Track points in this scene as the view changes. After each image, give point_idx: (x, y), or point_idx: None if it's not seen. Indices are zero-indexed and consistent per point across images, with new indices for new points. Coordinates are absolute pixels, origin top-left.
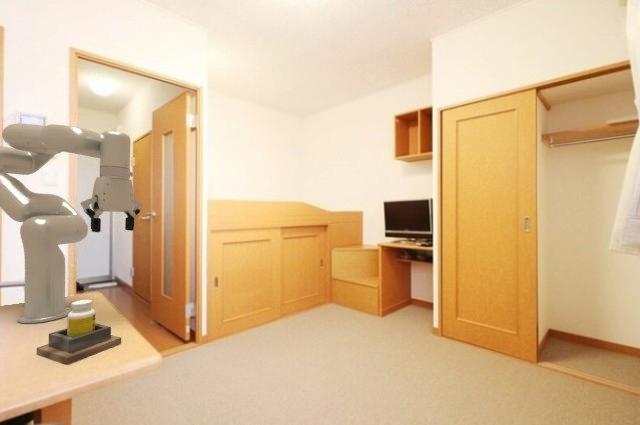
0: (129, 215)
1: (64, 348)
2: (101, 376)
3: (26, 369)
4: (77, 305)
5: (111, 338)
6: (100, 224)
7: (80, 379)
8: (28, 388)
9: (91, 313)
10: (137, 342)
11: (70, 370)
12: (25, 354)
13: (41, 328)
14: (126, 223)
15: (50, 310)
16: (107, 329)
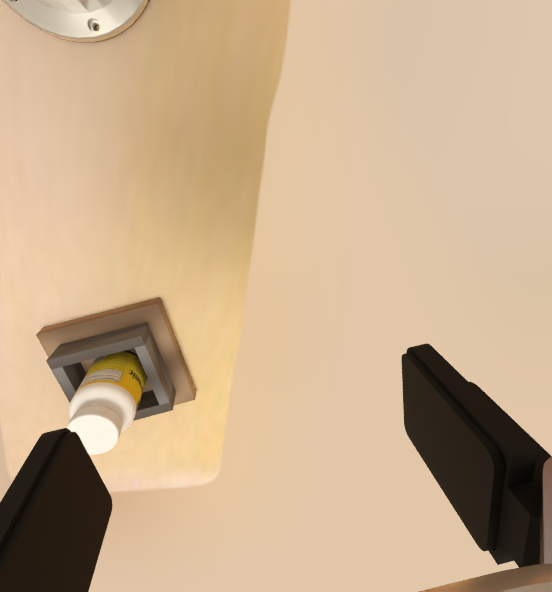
0: (537, 549)
1: None
2: (131, 487)
3: (28, 389)
4: None
5: (178, 390)
6: (88, 582)
7: (104, 478)
8: None
9: (121, 432)
10: (221, 406)
11: None
12: (21, 310)
13: (53, 112)
14: (440, 417)
15: (67, 5)
16: (164, 410)
